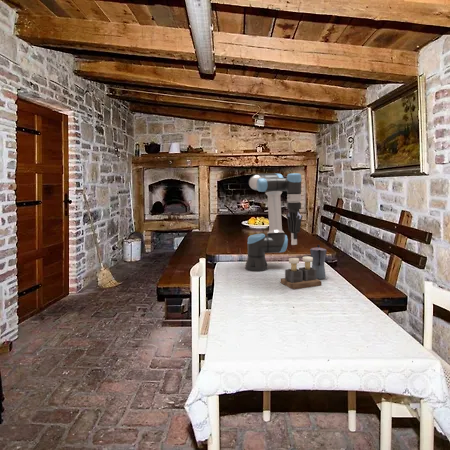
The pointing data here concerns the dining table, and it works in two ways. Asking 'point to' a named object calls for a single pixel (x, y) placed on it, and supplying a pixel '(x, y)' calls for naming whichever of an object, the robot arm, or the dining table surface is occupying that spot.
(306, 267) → the plunger far
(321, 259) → the moka pot
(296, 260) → the plunger near
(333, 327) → the dining table surface
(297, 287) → the mount
